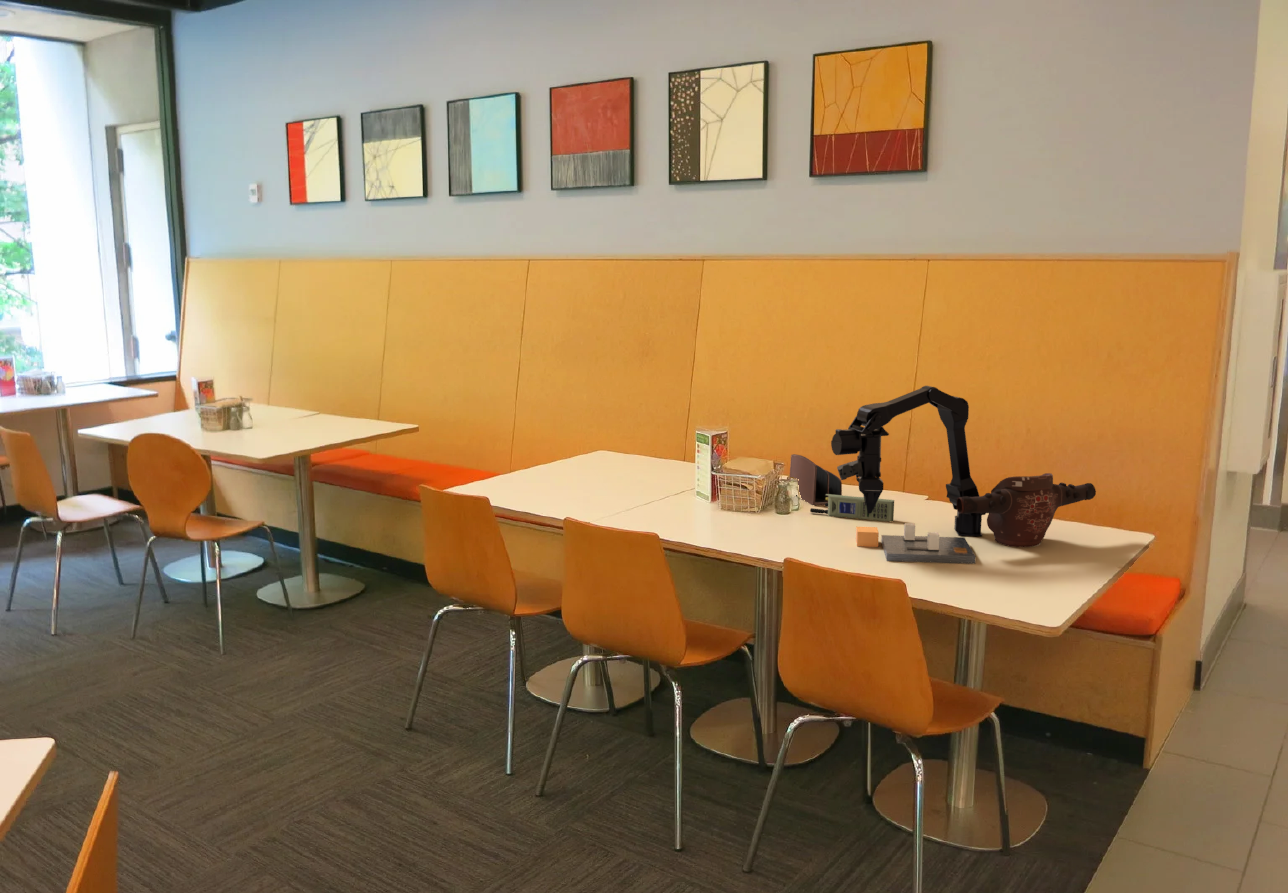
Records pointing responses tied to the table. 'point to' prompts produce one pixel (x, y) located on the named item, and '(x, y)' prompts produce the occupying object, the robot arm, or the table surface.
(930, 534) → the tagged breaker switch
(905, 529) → the switch
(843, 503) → the handheld radio
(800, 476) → the letter holder
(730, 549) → the table surface
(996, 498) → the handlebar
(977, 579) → the table surface
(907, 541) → the breaker panel
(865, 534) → the cap
